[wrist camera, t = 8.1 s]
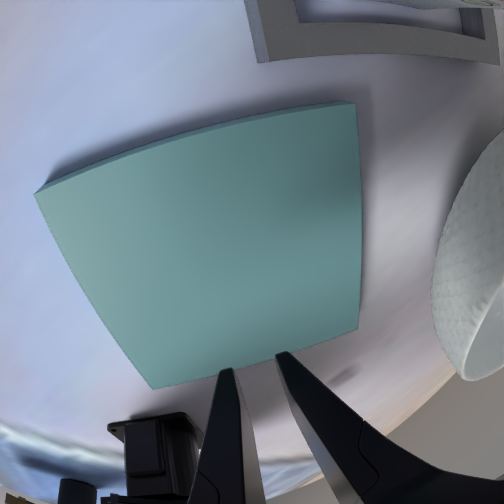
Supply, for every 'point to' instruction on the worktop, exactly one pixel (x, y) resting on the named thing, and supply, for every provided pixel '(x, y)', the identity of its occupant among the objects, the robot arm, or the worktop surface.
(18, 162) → the worktop surface
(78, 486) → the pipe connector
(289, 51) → the hollow square frame
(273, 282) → the board
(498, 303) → the cereal bowl
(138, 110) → the worktop surface
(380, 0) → the medicine box
